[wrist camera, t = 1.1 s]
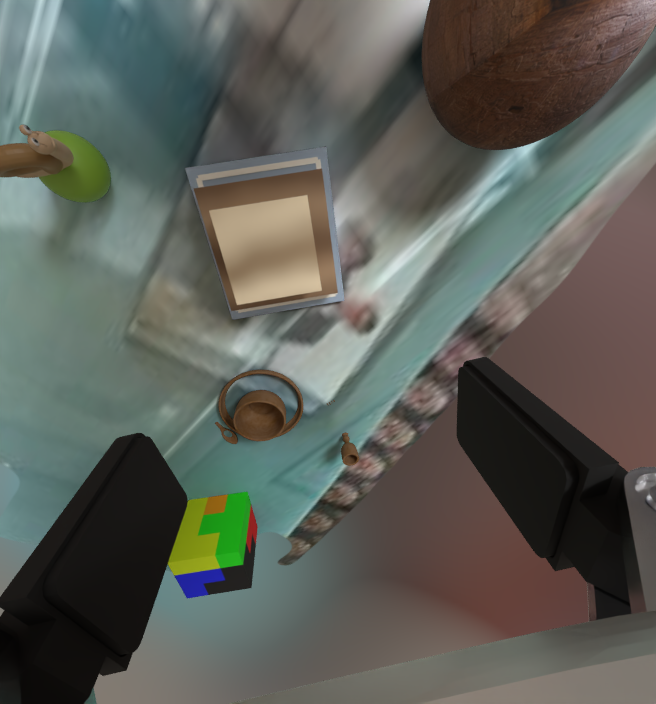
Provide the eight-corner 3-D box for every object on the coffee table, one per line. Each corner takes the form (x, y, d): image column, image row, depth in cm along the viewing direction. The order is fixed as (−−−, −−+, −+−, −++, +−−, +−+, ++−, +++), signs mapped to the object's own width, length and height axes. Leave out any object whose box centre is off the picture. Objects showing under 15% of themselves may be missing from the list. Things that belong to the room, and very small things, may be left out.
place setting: (290, 339, 40) (291, 360, 35) (358, 431, 49) (366, 459, 44) (189, 400, 43) (174, 428, 37) (270, 477, 51) (268, 509, 46)
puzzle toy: (203, 534, 55) (187, 598, 47) (188, 499, 51) (167, 562, 42) (257, 526, 56) (251, 587, 47) (247, 491, 52) (238, 551, 43)
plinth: (202, 189, 30) (174, 186, 23) (319, 171, 30) (328, 162, 23) (235, 302, 35) (222, 328, 28) (334, 286, 36) (345, 307, 29)
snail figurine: (142, 189, 30) (61, 183, 19) (84, 209, 30) (-28, 214, 20) (108, 125, 27) (-6, 77, 17) (45, 147, 28) (-107, 115, 17)
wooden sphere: (560, 106, 31) (764, 35, 18) (429, 188, 33) (522, 180, 20) (532, -99, 24) (828, -463, 11) (370, 21, 26) (452, -162, 13)
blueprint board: (187, 168, 30) (184, 167, 29) (325, 147, 30) (326, 146, 29) (233, 317, 37) (232, 320, 36) (343, 298, 38) (344, 300, 37)
